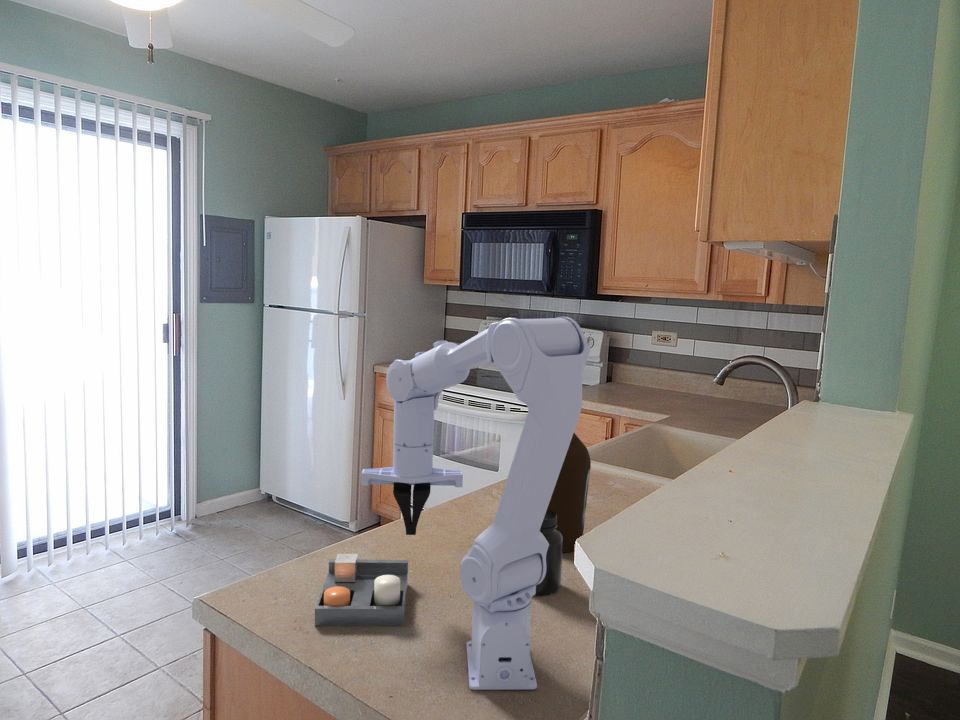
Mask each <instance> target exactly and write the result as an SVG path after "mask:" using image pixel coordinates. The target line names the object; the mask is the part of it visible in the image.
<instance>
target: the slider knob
mask: <svg viewBox="0 0 960 720" xmlns="http://www.w3.org/2000/svg"><path fill="white" fill-rule="evenodd" d="M335 559H336V560H335V582H355V581H356V577H357V573H358V560H359V554H358V553H337V555H336V558H335Z"/></svg>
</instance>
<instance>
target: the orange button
mask: <svg viewBox="0 0 960 720" xmlns="http://www.w3.org/2000/svg"><path fill="white" fill-rule="evenodd" d="M324 606H350V590H349V589H348V588H346V587H341V586H336V587H331V588H329V589H327V590H325V592H324Z"/></svg>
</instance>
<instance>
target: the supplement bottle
mask: <svg viewBox="0 0 960 720" xmlns="http://www.w3.org/2000/svg"><path fill="white" fill-rule="evenodd" d="M556 528H557V515H556V513H555V512H553V511H551V510H547V511H546V514H545V516H544V519H543V522H542V525H541V528H540V532H541V533H542V534H543V535H544V537H545V538H546V540H547V542H548V543H549V547H548V550H547V553H546V575H545V577H544V579H543V581H542V582H541V583H540V584H538V585H536V594H535V595H533V597H549V596H552V595H555V594H556V593H557V592H559V591H560V589H561V584H562V566H563V565H562V563H563V552H562V544H563V538H562V535H561V533H560V531H559V530H557V529H556Z"/></svg>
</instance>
